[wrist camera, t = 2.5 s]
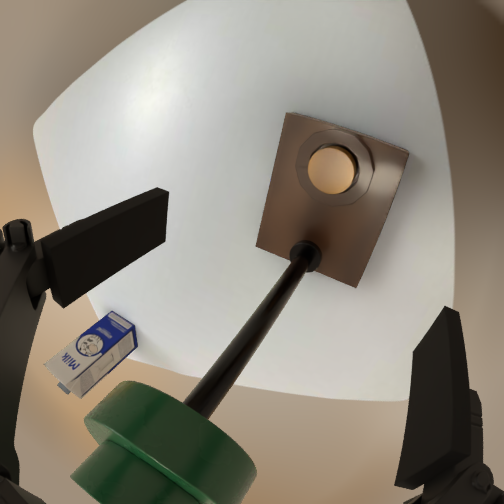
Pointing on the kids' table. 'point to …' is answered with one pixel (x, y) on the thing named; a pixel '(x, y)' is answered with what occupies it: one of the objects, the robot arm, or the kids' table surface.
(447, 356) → the robot arm
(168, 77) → the kids' table surface
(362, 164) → the lamp base
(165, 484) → the lamp
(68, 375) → the milk carton
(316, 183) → the lamp switch
